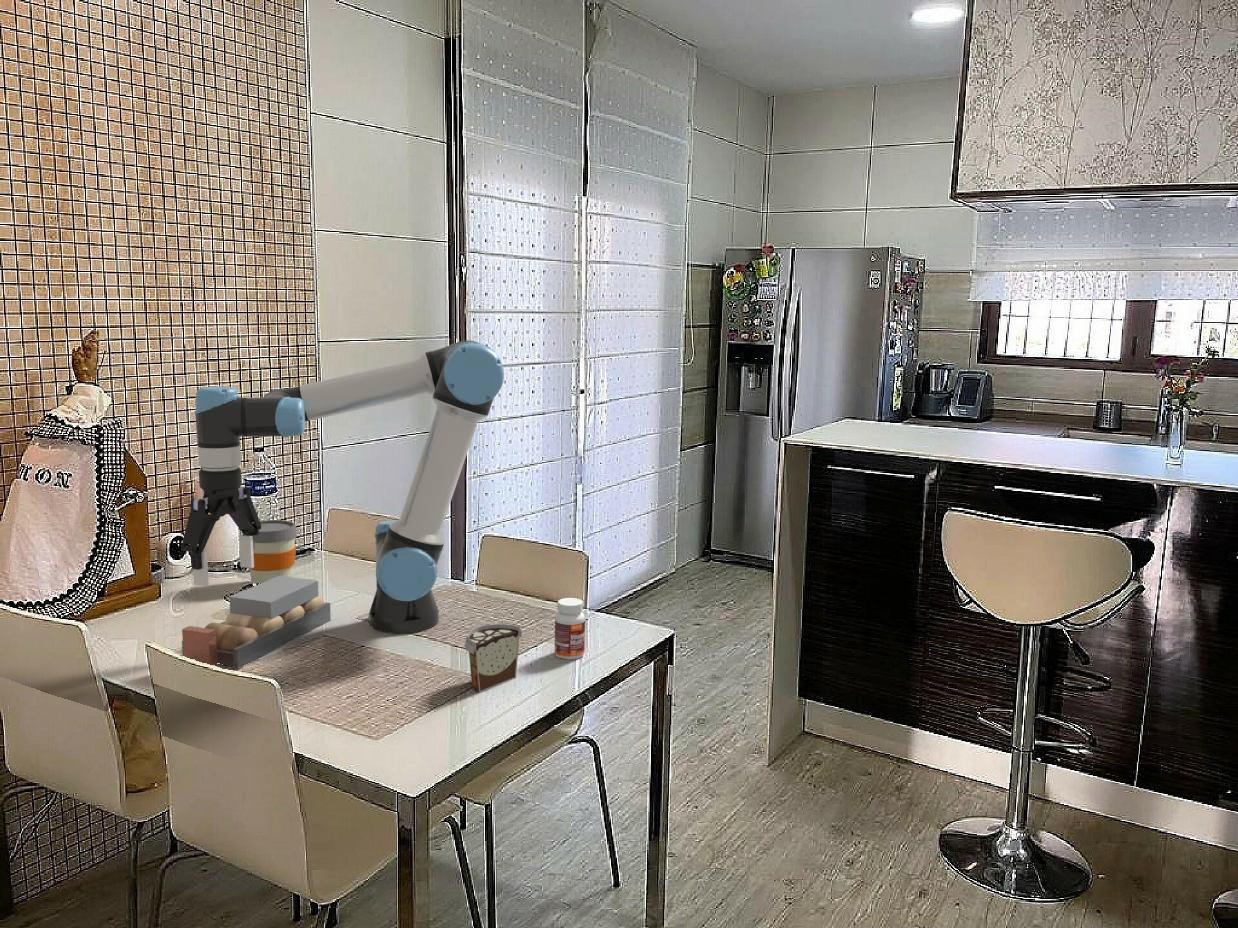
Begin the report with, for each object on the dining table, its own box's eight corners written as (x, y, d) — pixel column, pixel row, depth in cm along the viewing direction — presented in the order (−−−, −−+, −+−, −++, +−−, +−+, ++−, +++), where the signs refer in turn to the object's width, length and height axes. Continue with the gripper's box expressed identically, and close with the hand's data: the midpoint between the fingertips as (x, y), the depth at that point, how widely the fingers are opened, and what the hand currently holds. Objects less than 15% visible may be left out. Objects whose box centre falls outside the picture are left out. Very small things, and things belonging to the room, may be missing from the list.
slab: (318, 596, 204) (318, 580, 203) (271, 618, 189) (270, 602, 188) (279, 590, 207) (279, 575, 206) (230, 612, 192) (229, 596, 191)
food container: (499, 667, 183) (499, 618, 181) (521, 675, 179) (521, 626, 177) (450, 685, 173) (450, 634, 172) (473, 695, 170) (473, 643, 168)
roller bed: (330, 620, 207) (329, 585, 205) (225, 676, 175) (223, 635, 174) (280, 613, 210) (279, 578, 209) (169, 666, 179) (167, 626, 177)
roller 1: (253, 660, 186) (261, 630, 187) (234, 656, 180) (242, 626, 182) (215, 654, 188) (224, 625, 190) (196, 650, 183) (204, 620, 184)
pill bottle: (574, 662, 186) (575, 608, 184) (548, 656, 189) (549, 602, 187) (590, 652, 191) (591, 600, 189) (564, 647, 194) (565, 594, 192)
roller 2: (285, 638, 194) (283, 611, 192) (266, 649, 188) (264, 622, 187) (245, 632, 197) (242, 605, 195) (225, 643, 191) (222, 616, 190)
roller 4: (325, 617, 207) (323, 592, 206) (308, 627, 201) (306, 601, 200) (287, 611, 210) (285, 586, 209) (269, 621, 204) (267, 596, 203)
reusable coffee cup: (297, 575, 239) (295, 518, 236) (299, 589, 227) (297, 530, 225) (244, 579, 234) (242, 521, 232) (244, 594, 223) (241, 533, 220)
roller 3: (305, 627, 200) (303, 601, 199) (288, 638, 195) (286, 611, 194) (266, 621, 203) (264, 595, 202) (248, 632, 198) (246, 605, 196)
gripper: (246, 456, 191) (250, 557, 195) (155, 476, 168) (162, 591, 172) (277, 459, 189) (281, 561, 193) (189, 480, 166) (195, 595, 170)
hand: (225, 575), depth 182 cm, fingers open, 12 cm apart
